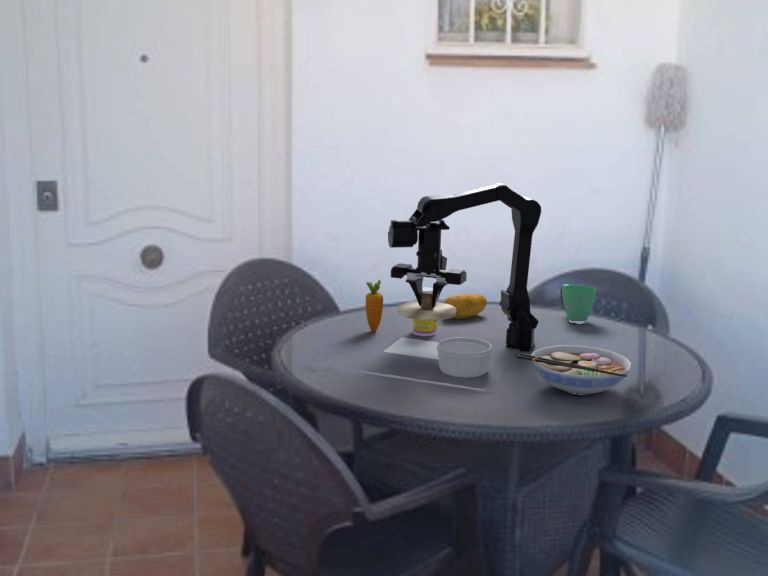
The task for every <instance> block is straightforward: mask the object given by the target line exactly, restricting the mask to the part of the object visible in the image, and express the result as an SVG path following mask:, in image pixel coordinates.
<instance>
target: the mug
mask: <svg viewBox="0 0 768 576" xmlns="http://www.w3.org/2000/svg"><path fill="white" fill-rule="evenodd" d="M597 290H598V289H596V288H595V287H592V286H589V285H581V284H568V283H564V284H562V285H561V288H560V299H561V303H562V307H563V309H564V311H565V315H566V318H567V321H568V320H571V321H586V320H587V321H588V318H589V317H590V315H591V312H592V310H593V307H594V303H595V299H596V296H597ZM587 321H586V322H587Z"/></svg>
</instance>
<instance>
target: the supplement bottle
mask: <svg viewBox="0 0 768 576" xmlns="http://www.w3.org/2000/svg"><path fill="white" fill-rule="evenodd" d="M423 292H432V293H433V287H427V286H422V293H423ZM412 302H417V299H416V297H415V298H414V299H413V300H412ZM437 322H438V320H417V319H412V325H411V326H412V328H411V329H412V331H411V332H412V334H413V335H414V336H419V337H433V336H436V334H437V328H438V327H437V326H438V323H437Z"/></svg>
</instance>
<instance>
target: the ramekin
mask: <svg viewBox="0 0 768 576" xmlns="http://www.w3.org/2000/svg"><path fill="white" fill-rule="evenodd" d="M437 342H438V344H437V351H438V359H439V360H438V367H439V370H440V371H441V372H442V373H443V374H445V375H448V376H451V377H455V378H465V379H466V378H467V379H469V378H476V377H481V376H484V375H485V374H486V373H487V372H488V370H489V365H490V360H491V354H492V352H493V345H492V344H491V343H490V342H488V341H486V340H484V339H480V338H475V337H468V336H467V337H465V336H461V337H459V336H458V337H449V338H445V339H441V340H440V341H437Z"/></svg>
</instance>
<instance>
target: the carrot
mask: <svg viewBox="0 0 768 576" xmlns="http://www.w3.org/2000/svg"><path fill="white" fill-rule="evenodd" d="M381 282H382V280H381V279H378V280H377V282H375V283H374V284H373V282H372V281H370V282H369V281H366V285H367V287H368V289H369V290H370V292H368V293H367V294H366V295H365V314H366V321H367V323H368V327H369V330H370V331H371V332H372V333H376V332H377V331H378V328H379V327H380V324H381V321H382V316H383V308H384V296H383V294H381V292H378V291H379V290H380V288H381Z"/></svg>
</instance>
